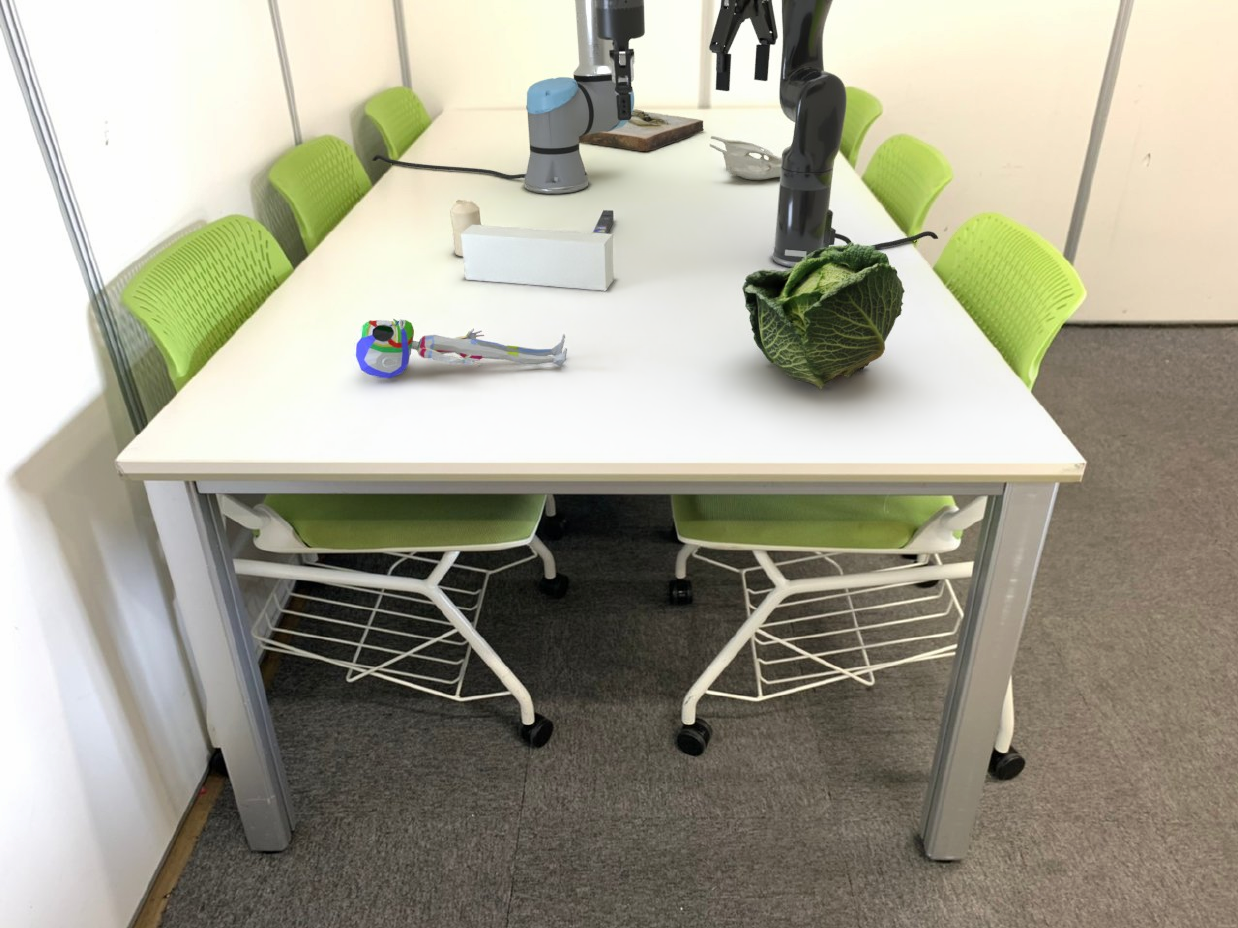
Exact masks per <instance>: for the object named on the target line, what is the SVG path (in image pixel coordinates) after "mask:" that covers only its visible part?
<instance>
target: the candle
mask: <svg viewBox="0 0 1238 928" xmlns="http://www.w3.org/2000/svg"><path fill="white" fill-rule="evenodd" d="M449 212H450V213H449V214H450V222H451V228H452V231H451V232H452V239H453V247H454V253H455V255H457V256H459V257H463V249H462V240H461V233H462V232H464V231H465V230H466V229H467V228H469V227H470V226H471V225H482V222H481V221H482V220H481V212H480V207H479V205H478V204H476V203H475V202H474V201H472V200H470V201H468V200H465V199H464V200H462V199H457V200H456V201H455V202H454V203H453V205H452V206H451V207H450V209H449Z"/></svg>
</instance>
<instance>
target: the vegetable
mask: <svg viewBox="0 0 1238 928" xmlns="http://www.w3.org/2000/svg"><path fill="white" fill-rule="evenodd" d="M744 280H745V282H744V283H743V284H742V292H743V296H744V300H745V308H746V310H747V311H748V312H749V317H748V318H749V323H750V325H751V329H750V330H751V332H752V333H753V341H754V342H755V345H756V347H758V349H759V350H760V351H761V353H762V354H763V355H764V357H765V358H766V359H767V360H768V361H769V363H770V364H773V363H774V364H775V365H776V367H777V368H778V369H779V370H780V371H781V372H782V373H784V374H786V375H787V376H788V377H790V378H792V379H793V380H795V381H800V382H804V383H810V384H812V385H814V386H816V387H817V388H818V389H819V390H822V389H823V387H824V386H828V385H829V384H828V382H827V381H831V380H832V379H833V378H835V377H836V376H838V375H839V376H840V375H841V376H844V377H848V378H849V377H850V378H851V376H852V374H854V372H856V371H859V370H864V368H865V367H867V366H869V365H870V363H872V362H874V361H876V360H878V359H879V358H881V357H882V355H883V354H884V352H885V350H886V343H885V342H886V341H887V339H888V337H889V335H890V333H891V332H892V329H893V328H894V326H895V322H896V320H897V318H898V317H900V316H901V314H902V311H903V308H902V306H903V305H904V302H903V297H904V293H905V292H906V291H905V289H904V287H903V283H902V279H900V277H899V276H898V271H897V269H896V267H895V266H892V265H891V264H890V260H889V257H888V255H887V254H886V253H885V252H882V251H880V250H879V249H875V246H871V245H861V244H859V243H856V244H854V242H852V241H851V242H850V243H848V244H847V243H846V244H845V245H829V247H825V248H819V249H818V250H816V251H814V252H812V253H810V254H808V255H807V256H805V257H804V258H803V259H802V260H801V261H800V262H799V263H796V265H795V266H794V267H789V268H787V269H785V270H778V269H777V270H776V269H771V270H770V269H760V270H756V271H754V272H752V273H750V274H748V275H746V277H745V279H744Z"/></svg>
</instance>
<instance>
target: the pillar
mask: <svg viewBox="0 0 1238 928" xmlns="http://www.w3.org/2000/svg"><path fill="white" fill-rule="evenodd" d="M614 216H615V215H614V210H613V209H612V210H611V209H602V212H601V214H600V216H599V219H598V221H597V222H596V225H595V227H594V229H593V231H592V233H606V234H610V233H609V232H610V231H611V228H612V226H613V223H614Z"/></svg>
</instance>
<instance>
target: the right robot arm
mask: <svg viewBox="0 0 1238 928" xmlns="http://www.w3.org/2000/svg"><path fill="white" fill-rule="evenodd" d="M833 1H834V0H781V26H782V47H781V49H782V50H781V62H780V75H779V88H778V90H779V91H778V95H779V96H778V98H779V105H780V109H781V110H782V113H783V114H784V116H785V117H786V118H787V119H789V120H790V121H791V122H793V123H794V128H793V137H792V142H791V144H790V145H789V146H787V147H785V148H784V149H783V150H782V153H781V158H782V159H781V172H780V177H779V184H778V185H779V186H778V199H777V212H776V223H775V224H776V225H775V234H774V235H775V236H774V247H773V253H772V259H773V261H774V262H775V263H777V264H779V265H781V266H785V267H789V268H792V267H794V266H795V265H796V263H799V262H800V261H801V260H802V259H803V258H804V257H805V256H807V255H808V254H810V253H812V252H814V251H816V250H818V249H819V248H825V247H829V246H835V241H836V239H838V240H841V241H843V242H845V244H846V245H847V244H848V243H850V242H852V240H851V239H850V238H849V237H848V236H846V235H844V234H841V233H837V232H836V231H837V229H835V228H834V227H833V226H832V225H833V216H834V213H833V211H832V210H831V209H830V203H831V202H830V201H831V192H832V182H833V174H834V165H835V161H836V157H837V155H838V154H839V151H840V149H841V144H842V139H843V132H844V127H845V120H846V114H847V105H848V104H847V101H848V98H847V97H848V96H847V89H846V86H845V84H844V82H843V80H842V79H841V78H840V77H839V76H838V75H836V74H835V73H831V72H829V71H826V70H825V66H824V34H825V33H824V32H825V27H826V22H827V19H828V17H829V16H828V15H829V13H830V10H831V8H832V5H833ZM595 9H596V28H597V36H598V38H600V39H603V40H612V41H613V42H612V45H613V49H614V50H609V59H610V65H611V70H612V81H613V82H614V83H615V84H616V87H615V93H616V102H617V115H618V119H619V120H630V119H631V93H632V89H633V86H632V82H634V80H635V78H634V77H635V73H634V71H635V70H634V64H635V49H634V48H630V46H629V45H630V41H631V40H635V39H639V38H642V37H644V35H645V33H646V26H645V23H646V22H645V0H595ZM925 237H930V238H932V239H934V240H938V239H939V236H938V235H937V233H935V232H933V231H930V230H929V231H928V230H926V231H923V232H919V233H916V234H915V235H912V236H908V237H903V238H899V239H896V240H891V241H886V242H881V243H875V244H872V245H870V246H875V249H876V250H879V249H883V248H890V247H894V246H898V245H903V244H906V243H910V242H914V241H917V240H920V239H922V238H925Z"/></svg>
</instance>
